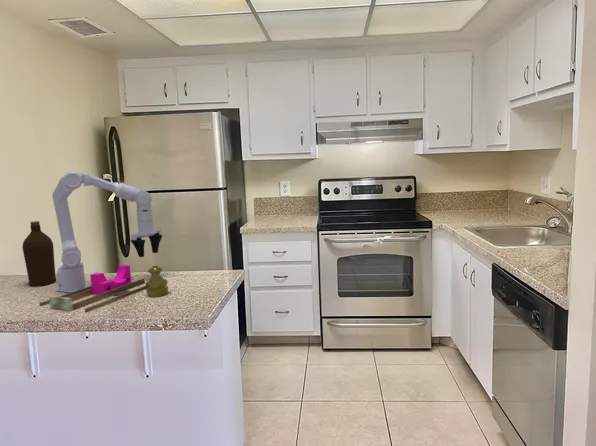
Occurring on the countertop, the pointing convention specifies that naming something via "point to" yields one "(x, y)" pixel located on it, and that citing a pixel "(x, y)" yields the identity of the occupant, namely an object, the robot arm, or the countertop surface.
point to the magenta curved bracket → (104, 285)
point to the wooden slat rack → (66, 300)
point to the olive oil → (39, 257)
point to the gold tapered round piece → (156, 283)
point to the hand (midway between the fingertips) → (148, 254)
